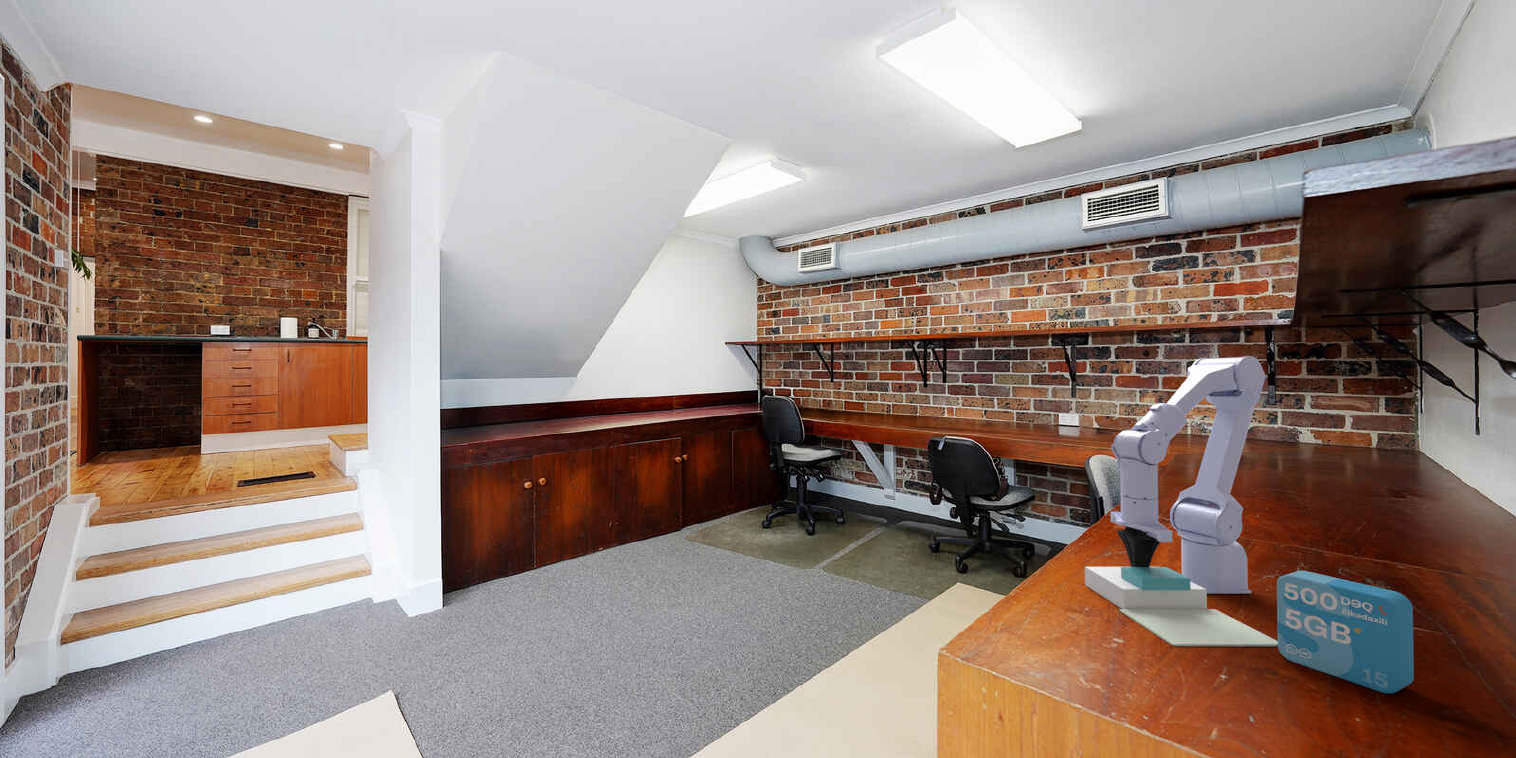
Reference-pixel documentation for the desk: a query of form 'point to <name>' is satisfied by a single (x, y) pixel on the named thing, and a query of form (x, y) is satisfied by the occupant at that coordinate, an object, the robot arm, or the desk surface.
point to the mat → (1198, 627)
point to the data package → (1346, 630)
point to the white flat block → (1141, 592)
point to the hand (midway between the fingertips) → (1139, 571)
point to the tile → (1155, 578)
